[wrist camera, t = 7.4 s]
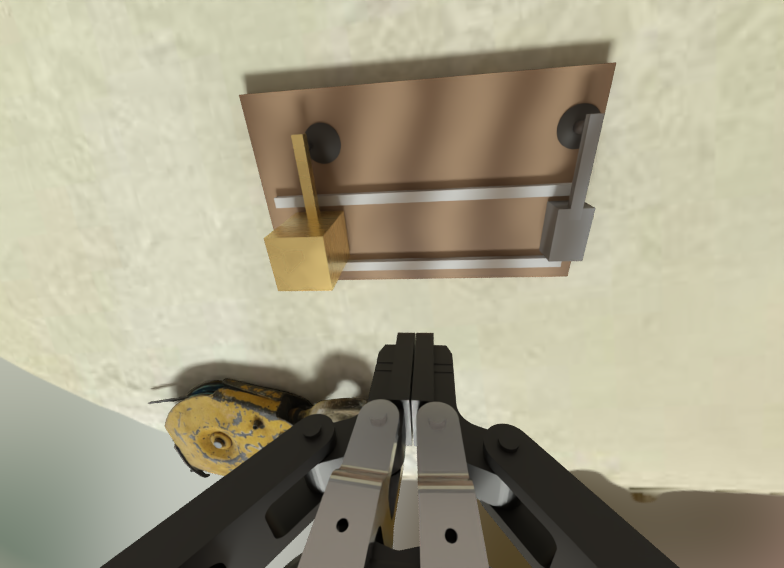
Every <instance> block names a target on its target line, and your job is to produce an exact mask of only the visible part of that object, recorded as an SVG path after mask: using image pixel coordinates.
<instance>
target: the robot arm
mask: <svg viewBox="0 0 784 568" xmlns="http://www.w3.org/2000/svg"><path fill="white" fill-rule="evenodd" d="M413 438H414V446H417V466H418V501H419V502H418V504H419V535H420V546H419V547H414V548H410V549H405V550H400V551H398V550H394V549H393V541H394V540H393V539H394V525H395V517H396V512H397V505H398V499H399V493H400V487H401V480H402V474H403V466H404V465H403V463H404V458H405V446H406V445H407V446H412V439H413ZM476 498H477V499H479V500H480V502H481V503H482V506H483V507H484V508H485V510H486V511H487V512H488V513H489V515H490V516H491V517H492V518H493V519H494V521H495V522H496V523H497V525H498V526H499V527H500V528H501V529H502V531H503V532H504V533H505V534H506V536H507V537H508V538H509V539H510V541H511V542H512V543H513V544H514V546H515V547H516V548H517V549H518V550H519V552H520V553H521V554H522V555H523V557H524V558H525V559H526V560H527V561H528V563H529V564H530V565H531V566H532V567H533V568H679V567H678V566H677V565H676V564H675V563H673V562H672V561H671V560H670V559H669V558H668V557H666V556H665V555H664V554H663V553H662V552H661V551H660V550H658V549H657V548H656V547H655V546H654V545H653V544H652V543H650V542H649V541H648V540H647V539H646V538H645V537H644V536H642V535H641V534H640V533H639V532H638V531H637V530H635V529H634V528H633V527H632V526H631V525H630V524H629V523H627V522H626V521H625V520H624V519H623V518H622V517H621V516H619V515H618V514H617V513H616V512H615V511H614V510H612V509H611V508H610V507H609V506H608V505H607V504H606V503H604V502H603V501H602V500H601V499H600V498H599V497H597V496H596V495H595V494H594V493H593V492H592V491H591V490H589V489H588V488H587V487H586V486H585V485H584V484H583V483H581V482H580V481H579V480H578V479H577V478H576V477H574V476H573V475H572V474H571V473H570V472H569V471H568V470H567V469H565V468H564V467H563V466H562V465H561V464H560V463H559V462H557V461H556V460H555V459H554V458H553V457H552V456H551V455H549V454H548V453H547V452H546V451H545V450H544V449H542V448H541V447H540V446H539V445H538V444H537V443H536V442H534V441H533V440H532V439H531V438H530V437H529V436H528V435H526V434H525V433H524V432H523V431H522V430H520V429H519V428H517V427H515V426H512V425H509V424H496V425H493V426H491V427H490V428H489V429H488V430H487V429H484V428H482V427H479V426H476V425H473V424H471V423H470V422H468V421H467V420H465V419H464V418H463V417H462V416H461V414H460V413H459V411H458V409H457V406H456V395H455V383H454V370H453V358H452V353H451V352H450V350H449V349H448V347H447V346H443V345H434V335H433V333H416V337H415V333H398V335H397V341H396V345H385V346H384V347H383V348H382V349H381V351H380V352H379V354H378V358H377V364H376V367H375V372H374V376H373V381H372V385H371V389H370V394H369V398H368V402H367V404H365V405H364V406H363V407H362V408H361V410H360V412H359V414H357V415H356V416H354V417H352V418H349V419H345V420H341V421H337V422H333V421H332V419H331V418H330V417H328V416H326V415H324V414H312V415H309V416H307V417H305V418H303V419H302V420H300V421H299V422H297V423H296V424H295V425H293V426H292V427H291V428H289V429H288V430H287V431H285V432H284V433H283V434H281V435H280V436H278V437H277V438H276V439H274V440H273V441H272V442H270V443H269V444H268V445H266V446H265V447H263V448H262V449H261V450H259V451H258V452H257V453H255V454H254V455H253V456H251V457H250V458H248V459H247V460H246V461H244V462H243V463H242V464H240V465H239V466H238V467H236V468H235V469H233V470H232V471H231V472H229V473H228V474H227V475H225V476H224V477H223V478H221V479H220V480H219V481H217V482H216V483H214V484H213V485H212V486H210V487H209V488H208V489H206V490H205V491H204V492H202V493H201V494H200V495H198V496H197V497H195V498H194V499H193V500H191V501H190V502H189V503H187V504H186V505H184V506H183V507H182V508H180V509H179V510H178V511H176V512H175V513H174V514H172V515H171V516H170V517H168V518H167V519H165V520H164V521H163V522H161V523H160V524H159V525H157V526H156V527H155V528H153V529H152V530H151V531H149V532H148V533H146V534H145V535H144V536H142V537H141V538H140V539H138V540H137V541H136V542H134V543H133V544H131V545H130V546H129V547H127V548H126V549H125V550H123V551H122V552H121V553H119V554H118V555H116V556H115V557H114V558H112V559H111V560H110V561H108V562H107V563H106V564H104V565H103V566H102V567H100V568H265V567H266V566H267V565H268V564H269V563H270V562H271V561H272V560H273V559H274V558H275V557H276V556H277V555H278V554H279V553H280V552H281V551H282V550H283V549H284V548H285V547H286V546H287V545H288V544H289V543H290V542H291V541H292V540H294V539H295V537H297V536H298V535H299V534H300V533H301V532H302V531H303V530H304V529H305V528H306V527H307V526H308V525H309V524H310V523H311V522H312V521H313V520H314V519H315V520H314V522H313V525H312V528H311V531H310V534H309V537H308V539H307V543H306V545H305V548H304V551H303V553H301V554H300V555H298V556H297V557H295V558H294V559H293V560H292V561H291V562H289V563H288V564H287V565H286V566H285V567H284V568H492V567H490V566H489V565H488V560H487V555H486V549H485V544H484V538H483V533H482V527H481V522H480V517H479V511H478V506H477V500H476Z"/></svg>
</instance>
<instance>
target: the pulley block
mask: <svg viewBox="0 0 784 568" xmlns="http://www.w3.org/2000/svg"><path fill="white" fill-rule="evenodd" d="M177 400H183V401H181V402H179V403H178V404H176V405H175V406H174V407H173V408H172V409H171V411H170V412H169V414H168V416H167V419H166V422H165V428H166V430H167V431H168V433H169V434H170V436H171V437H172V439H173V441H174V442H175V446H174V448H175V450H176V451H177V452H178V454H179V455H180V457H181V458H182V460H183V462H184V463H185V464H186V465H187V466H188V467H189V468H190V469H191V470H190V471H191V472H195V473H197V474H198V475H200V476H202V477H204V478H206V477H208V476H210V474H205V473H204V472H203V471H207V472H210V473H214V474H218V475H222V476H225V475H227V474H228V473H229V472H231V471H232V470H233V469H235V468H236V467H238V466H239V465H240V464H242V463H243V462H244V461H246V460H247V459H248V458H250V457H251V456H253V455H254V454H255V453H257V452H258V451H259V450H261V449H262V448H263V447H265V446H266V445H268V444H269V443H270V442H272V441H273V440H274V439H276V438H277V437H278V436H280V435H281V434H283V433H284V432H285V431H287V430H288V429H289V428H291V427H292V426H293V425H295V424H296V423H297V422H299V421H300V420H302V419H303V418H305V417H307V416H309V415H312V414H324V415H326V416H328V417H330V418H331V419H332V421H333V422H337V421H341V420H345V419H349V418H352V417H354V416H356V415H357V414H359V412H360V410H361V408H362V407H363V406H364V405H365V404H367V402H368V401H367V400H364V399H357V398H339V399H331V400H323V401H321V402H318V403H317V404H316V405H314V406H312V405H311V404H310V402H309V401H308V400H306V399H304V398H302V397H299V396H296V395H293V394H290V393H286V392H282V391H278V390H273V389H269V388H264V387H260V386H255V385H251V384H247V383H243V382H239V381H235V380H230V379H224V380H223V381H219V380H214V381H208V382H205V383H202V384H200V385H198V386H196V387H195V388H194V389H192V390H191V391H190V392H189V393H188V395H187V396H185V397H179V398H171V399H165V400H159V401H152V402H149V403H148V404H152V403H161V402H168V401H170V402H174V401H177Z"/></svg>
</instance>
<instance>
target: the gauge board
mask: <svg viewBox="0 0 784 568" xmlns="http://www.w3.org/2000/svg"><path fill="white" fill-rule="evenodd" d="M615 66H616V63H604V64H593V65H581V66H569V67H558V68H546V69H534V70H523V71H511V72H500V73H488V74H476V75H465V76H453V77H441V78H430V79H418V80H407V81H395V82H383V83H372V84H360V85H348V86H337V87H325V88H314V89H302V90H290V91H279V92H267V93H255V94H244V95H239V97H240V101H241V105H242V109H243V112H244V116H245V120H246V124H247V128H248V132H249V136H250V140H251V144H252V147H253V151H254V155H255V159H256V163H257V167H258V171H259V175H260V179H261V182H262V186H263V190H264V194H265V198H266V202H267V206H268V210H269V214H270V217H271V221H272V225H273V229H274V230H275V229H276V228H277V227H279V226H280V225H281V224H283V223H284V222H285V221H286V220H288V219H289V218H290V217H291V216H293V215H294V214H295V213H296V212H306V208H305V203H304V198H303V193H302V188H301V183H300V178H299V173H298V168H297V163H296V158H295V153H294V148H293V143H292V138H291V135H294V134H306V136H307V139H308V140H310V141H311V143H312V149H311V150H310V151H309V152H310V158H311V164H312V169H313V175H314V180H315V186H316V192H317V197H318V203H319V209H320V212H321V211H344V216H345V223H346V230H347V237H348V244H349V251H350V257H349V259H348V261H347V263H346V265H345V267H344V269H343V271H342V273H341V275H340V277H339V279H338V280H364V279H428V278H492V277H556V276H568V272H569V268H570V263H571V261H582V260H583V256H584V252H585V248H586V244H587V240H588V236H589V232H590V228H591V224H592V220H593V216H594V211H595V208H594V207H593V206H591V205H589V204H587V203H586V202H585V198H586V193H587V189H588V185H589V180H590V176H591V171H592V167H593V163H594V158H595V154H596V150H597V145H598V141H599V136H600V132H601V128H602V123H603V119H604V115H605V110H606V106H607V101H608V97H609V93H610V88H611V84H612V80H613V75H614V71H615Z"/></svg>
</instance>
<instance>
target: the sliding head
mask: <svg viewBox="0 0 784 568" xmlns="http://www.w3.org/2000/svg"><path fill="white" fill-rule="evenodd" d="M291 138H292V143H293V148H294V153H295V158H296V163H297V168H298V173H299V178H300V183H301V188H302V193H303V198H304V203H305V208H306V212H296V213H295V214H294V215H293V216H291V217H290V218H289V219H288V220H286V221H285V222H284V223H283V224H281V225H280V226H279V227H277V228H276V229H275V230H274V231H272V232H271V233H270V234H269V235H267V236H266V237H265V238H264V241H265V245H266V248H267V252H268V256H269V259H270V263H271V266H272V270H273V274H274V277H275V281H276V284H277V288H278V291H329V290H333V289H334V287H335V285H336V283H337V281H338V279H339V277H340V275H341V273H342V271H343V269H344V267H345V265H346V263H347V261H348V259H349V257H350V251H349V244H348V237H347V230H346V223H345V216H344V211H321V212H320V209H319V203H318V197H317V192H316V186H315V180H314V175H313V169H312V164H311V158H310V152H309V151H310V150H311V149H312V143H311V141H310V140H308V139H307V136H306V134H294V135H291Z"/></svg>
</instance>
